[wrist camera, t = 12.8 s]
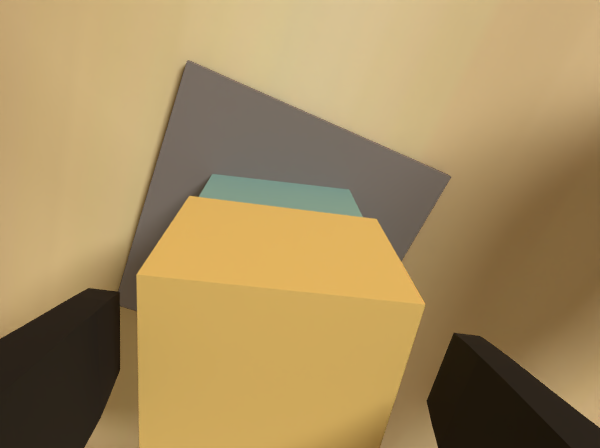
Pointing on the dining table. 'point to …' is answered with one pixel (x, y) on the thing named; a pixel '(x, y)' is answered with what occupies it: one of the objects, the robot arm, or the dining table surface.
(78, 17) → the dining table surface
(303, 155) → the mat
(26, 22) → the dining table surface
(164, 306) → the mustard brick
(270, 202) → the teal brick
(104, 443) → the dining table surface
